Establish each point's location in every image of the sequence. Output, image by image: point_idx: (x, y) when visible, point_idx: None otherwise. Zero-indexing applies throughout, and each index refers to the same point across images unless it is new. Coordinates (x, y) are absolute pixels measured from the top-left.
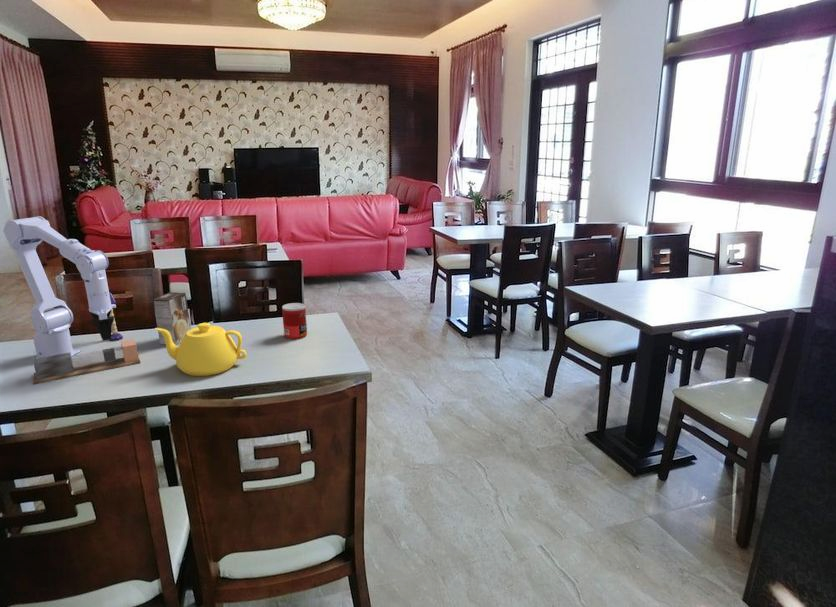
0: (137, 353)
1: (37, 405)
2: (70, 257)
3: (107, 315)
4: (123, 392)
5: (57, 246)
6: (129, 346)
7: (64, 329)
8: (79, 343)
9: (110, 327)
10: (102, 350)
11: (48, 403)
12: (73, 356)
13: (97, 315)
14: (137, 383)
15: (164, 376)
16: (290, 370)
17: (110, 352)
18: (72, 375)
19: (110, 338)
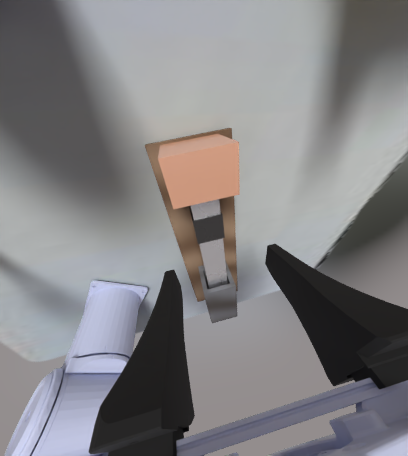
0: (225, 137)
1: (311, 264)
2: None
3: (170, 359)
4: (380, 158)
5: None
6: (237, 170)
7: (109, 357)
8: (26, 295)
9: (333, 281)
10: (198, 243)
11: (316, 256)
12: (213, 282)
13: (185, 385)
14: (364, 128)
15: (395, 30)
16: None
17: (222, 221)
18: (235, 257)
19: (278, 246)
